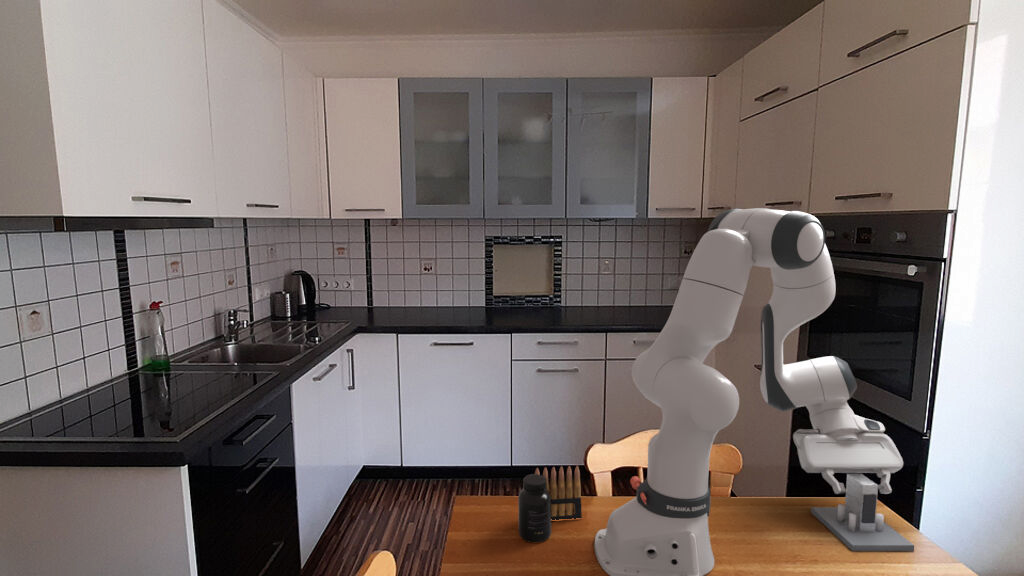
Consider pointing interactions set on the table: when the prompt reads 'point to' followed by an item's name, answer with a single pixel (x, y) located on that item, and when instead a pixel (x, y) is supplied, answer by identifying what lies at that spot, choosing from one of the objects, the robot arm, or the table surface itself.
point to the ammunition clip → (564, 494)
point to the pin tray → (861, 541)
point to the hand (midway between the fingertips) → (863, 493)
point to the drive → (861, 501)
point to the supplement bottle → (534, 509)
